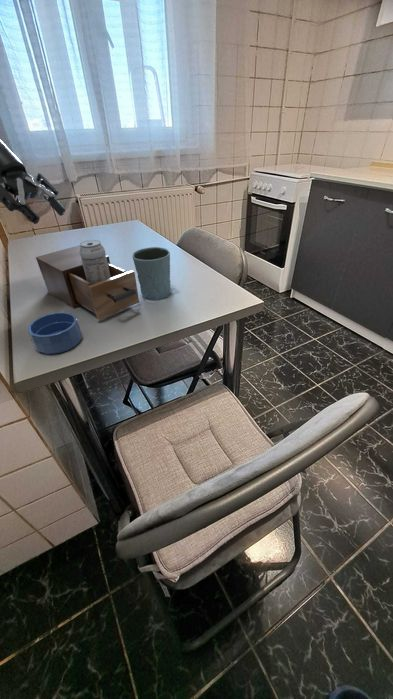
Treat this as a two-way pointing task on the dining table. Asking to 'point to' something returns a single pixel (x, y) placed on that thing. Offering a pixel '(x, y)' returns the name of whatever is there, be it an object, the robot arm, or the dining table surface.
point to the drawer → (105, 291)
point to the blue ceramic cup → (153, 272)
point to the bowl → (55, 332)
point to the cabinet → (61, 272)
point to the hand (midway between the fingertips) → (51, 217)
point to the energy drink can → (94, 261)
